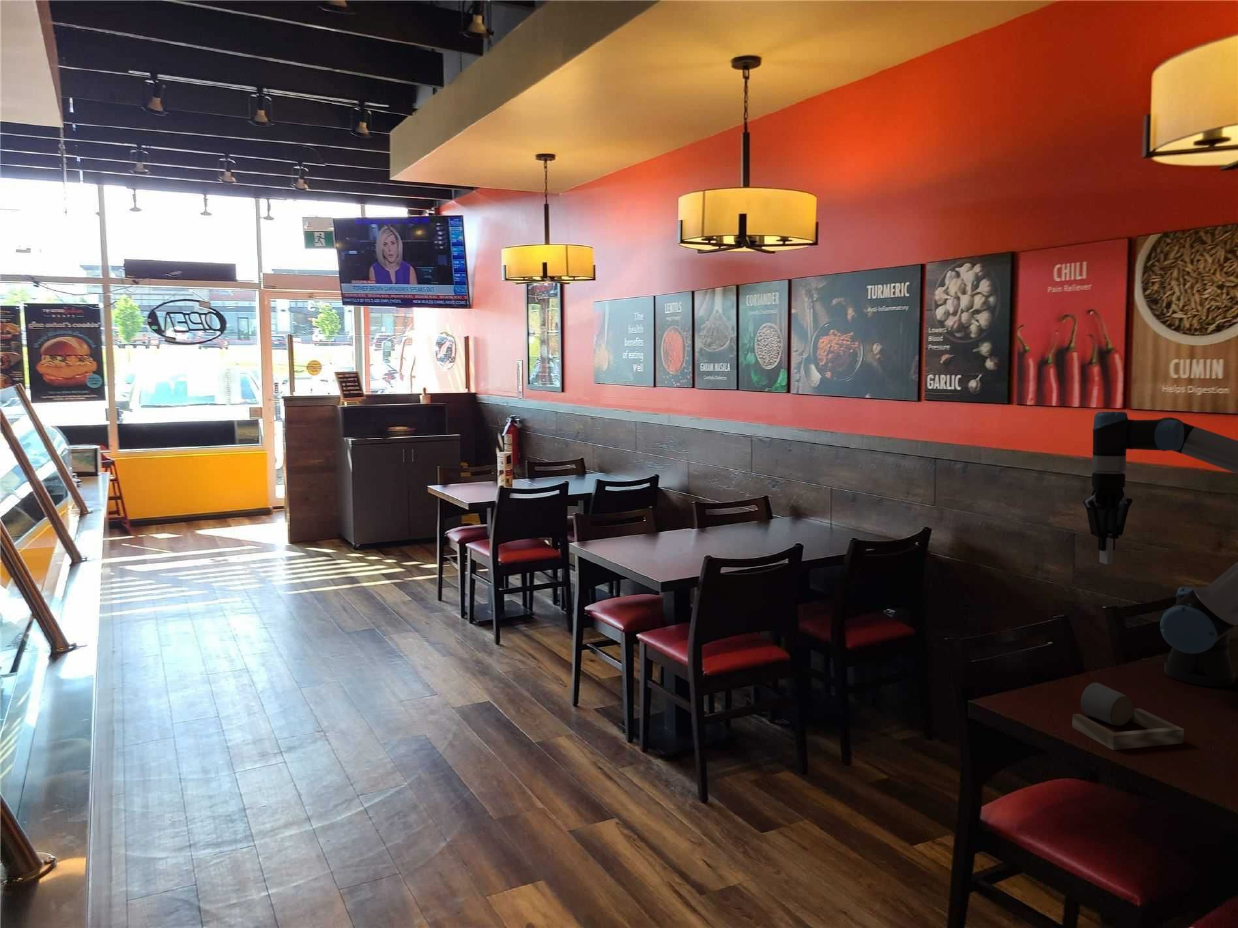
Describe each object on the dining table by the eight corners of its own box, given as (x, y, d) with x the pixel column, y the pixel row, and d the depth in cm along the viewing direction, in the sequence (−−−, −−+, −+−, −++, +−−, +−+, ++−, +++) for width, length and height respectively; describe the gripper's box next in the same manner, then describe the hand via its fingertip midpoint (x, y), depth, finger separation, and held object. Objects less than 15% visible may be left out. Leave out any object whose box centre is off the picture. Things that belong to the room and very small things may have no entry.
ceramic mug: (1112, 730, 191) (1114, 696, 190) (1078, 717, 198) (1081, 684, 197) (1144, 723, 195) (1146, 689, 194) (1110, 710, 202) (1112, 678, 202)
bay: (1138, 721, 195) (1139, 708, 195) (1183, 742, 184) (1184, 729, 183) (1072, 727, 192) (1072, 714, 192) (1112, 749, 180) (1113, 735, 180)
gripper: (1119, 469, 228) (1116, 559, 230) (1075, 471, 225) (1073, 561, 227) (1142, 472, 221) (1139, 564, 223) (1097, 474, 218) (1094, 567, 220)
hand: (1105, 562), depth 225 cm, fingers closed
